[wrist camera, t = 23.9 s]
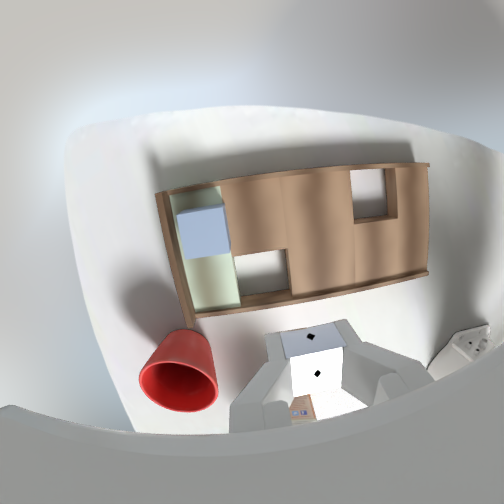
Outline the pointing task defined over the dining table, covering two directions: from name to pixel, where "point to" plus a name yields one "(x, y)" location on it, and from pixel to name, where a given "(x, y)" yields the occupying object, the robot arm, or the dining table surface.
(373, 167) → the box
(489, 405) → the robot arm
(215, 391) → the flower pot
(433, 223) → the dining table surface
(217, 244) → the cube
